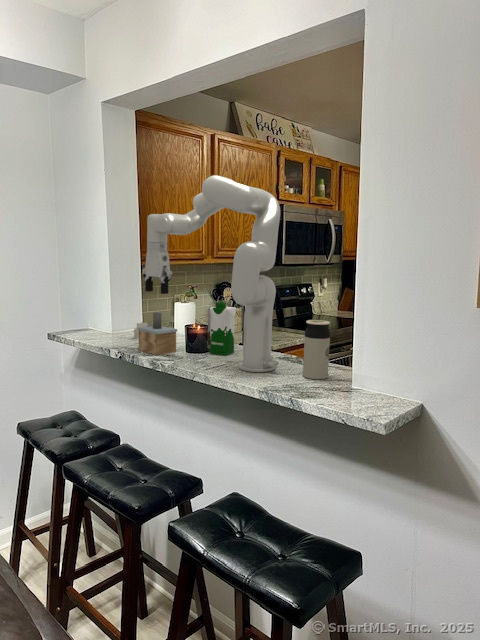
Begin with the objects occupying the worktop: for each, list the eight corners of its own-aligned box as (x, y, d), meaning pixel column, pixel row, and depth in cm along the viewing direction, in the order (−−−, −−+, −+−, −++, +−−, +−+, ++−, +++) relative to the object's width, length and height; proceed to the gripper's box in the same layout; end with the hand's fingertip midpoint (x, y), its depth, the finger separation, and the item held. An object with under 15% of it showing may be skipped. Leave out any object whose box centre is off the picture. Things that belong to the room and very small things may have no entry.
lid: (177, 333, 183) (177, 313, 182) (156, 336, 176) (157, 315, 175) (157, 329, 191) (157, 310, 190) (137, 331, 184) (137, 312, 183)
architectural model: (132, 339, 211) (132, 322, 210) (145, 337, 216) (145, 321, 215) (136, 340, 208) (136, 323, 207) (149, 338, 213) (149, 322, 212)
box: (175, 351, 184) (176, 331, 183) (157, 355, 177) (157, 334, 176) (157, 347, 192) (157, 327, 191) (138, 350, 186) (138, 329, 184)
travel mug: (298, 376, 152) (300, 321, 149) (311, 372, 158) (313, 319, 155) (319, 381, 146) (322, 324, 144) (332, 376, 152) (335, 321, 150)
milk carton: (206, 353, 182) (207, 302, 179) (217, 349, 190) (218, 300, 187) (227, 356, 178) (228, 303, 175) (237, 352, 186) (238, 301, 183)
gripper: (179, 248, 176) (178, 294, 178) (151, 247, 188) (151, 290, 190) (163, 247, 171) (162, 295, 173) (135, 246, 182) (135, 290, 185)
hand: (156, 292), depth 182 cm, fingers open, 9 cm apart
